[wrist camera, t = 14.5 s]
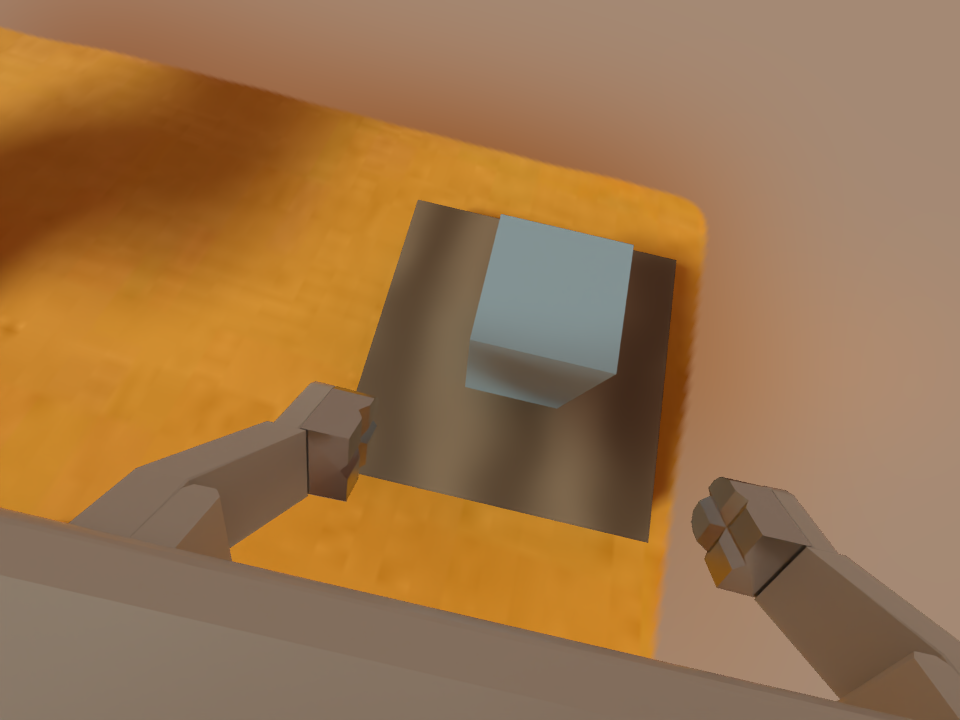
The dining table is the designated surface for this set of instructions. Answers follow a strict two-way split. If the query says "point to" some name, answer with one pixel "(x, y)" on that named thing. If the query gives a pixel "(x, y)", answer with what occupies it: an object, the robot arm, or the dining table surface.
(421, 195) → the dining table surface
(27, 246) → the dining table surface
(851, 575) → the robot arm
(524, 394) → the block
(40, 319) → the dining table surface
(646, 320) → the plinth
